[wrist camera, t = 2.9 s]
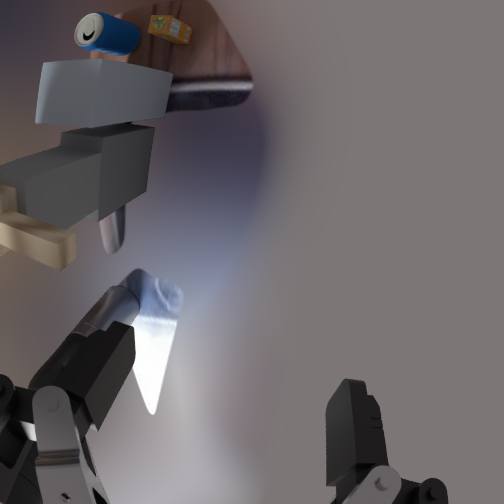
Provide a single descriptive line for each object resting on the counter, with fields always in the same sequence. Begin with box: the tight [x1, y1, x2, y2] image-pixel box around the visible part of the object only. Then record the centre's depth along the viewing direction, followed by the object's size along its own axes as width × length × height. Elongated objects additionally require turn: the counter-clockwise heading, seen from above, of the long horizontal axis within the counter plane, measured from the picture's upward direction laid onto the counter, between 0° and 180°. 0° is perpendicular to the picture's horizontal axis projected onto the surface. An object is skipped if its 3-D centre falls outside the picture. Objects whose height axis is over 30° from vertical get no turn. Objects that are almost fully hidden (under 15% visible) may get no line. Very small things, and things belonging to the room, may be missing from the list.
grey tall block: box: [35, 59, 173, 128], centre depth 35 cm, size 8×10×21 cm
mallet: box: [0, 184, 77, 271], centre depth 21 cm, size 16×6×5 cm, turn 77°
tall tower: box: [0, 123, 155, 229], centre depth 37 cm, size 12×8×30 cm, turn 167°
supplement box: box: [148, 15, 193, 44], centre depth 35 cm, size 3×3×10 cm
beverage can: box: [75, 12, 140, 56], centre depth 35 cm, size 6×6×12 cm
